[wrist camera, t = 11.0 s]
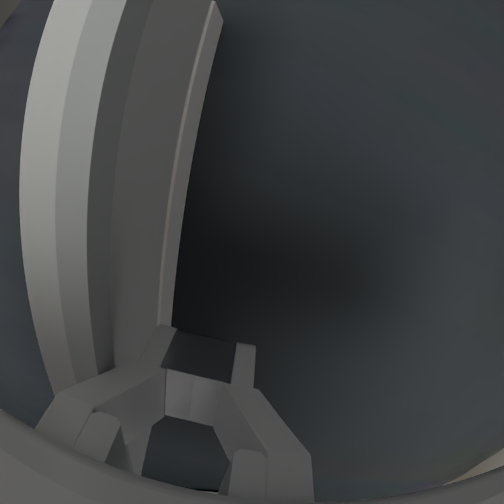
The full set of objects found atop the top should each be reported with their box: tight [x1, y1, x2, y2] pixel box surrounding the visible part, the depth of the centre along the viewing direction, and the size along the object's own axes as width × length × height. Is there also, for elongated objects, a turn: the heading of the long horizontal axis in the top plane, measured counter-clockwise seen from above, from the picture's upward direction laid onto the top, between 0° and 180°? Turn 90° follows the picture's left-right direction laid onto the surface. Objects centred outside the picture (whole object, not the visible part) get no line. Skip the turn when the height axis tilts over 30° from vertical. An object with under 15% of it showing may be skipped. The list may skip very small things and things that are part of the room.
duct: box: [157, 1, 224, 327], centre depth 15 cm, size 24×8×3 cm, turn 168°
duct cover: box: [19, 0, 212, 476], centre depth 10 cm, size 24×9×1 cm
